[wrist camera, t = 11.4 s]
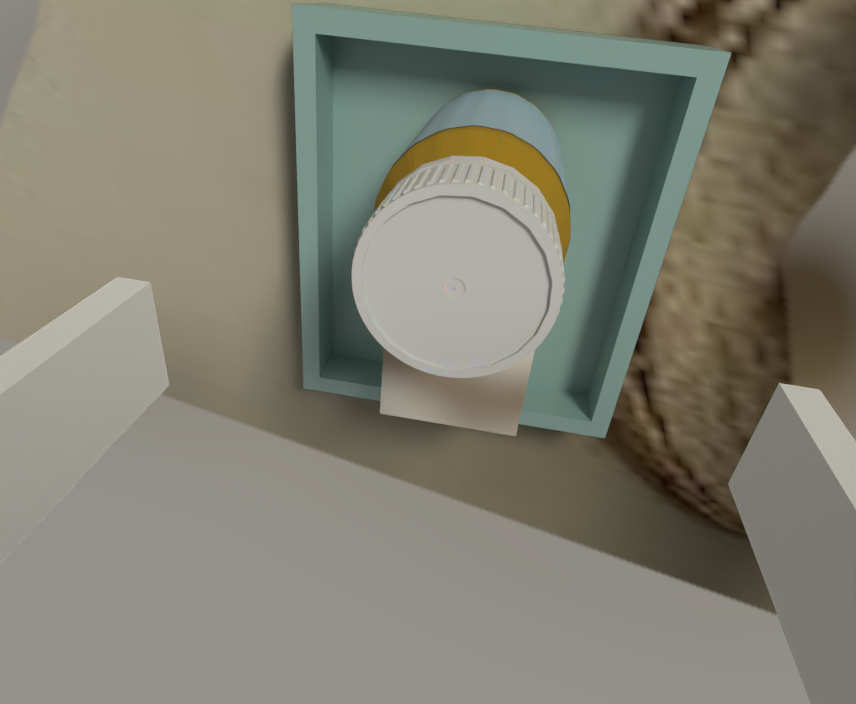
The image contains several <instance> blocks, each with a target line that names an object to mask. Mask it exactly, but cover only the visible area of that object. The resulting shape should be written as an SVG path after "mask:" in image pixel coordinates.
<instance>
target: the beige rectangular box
mask: <svg viewBox="0 0 856 704" xmlns="http://www.w3.org/2000/svg"><path fill="white" fill-rule="evenodd" d="M534 352H535V350H534V351H533V352H532V353H531V354H530V355H528V356H527V357H526V358H524V359H523V360H521V361H520V362H518V363H517V364H515V365H513V366H511V367H509V368H507V369H505V370H502V371H500V372H497V373H493V374H490V375H486V376H480V377H473V378H451V377H444V376H438V375H434V374H430V373H427V372H424V371H421V370H418V369H416V368H414V367H412V366H410V365H408V364H406V363H404V362H402V361H401V360H399V359H398V358H396V357H395V356H393V355H392V354H391V353H389V352H388V351H387V350H386V349H385V348H384V349H383V366H382V384H381V401H380V414H385V415H391V416H397V417H403V418H409V419H415V420H421V421H427V422H433V423H439V424H445V425H451V426H457V427H463V428H469V429H475V430H481V431H487V432H493V433H499V434H505V435H511V436H516V433H517V429H518V424H519V420H520V415H521V411H522V406H523V402H524V397H525V392H526V388H527V383H528V379H529V374H530V370H531V365H532V361H533V356H534Z"/></svg>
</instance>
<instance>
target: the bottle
mask: <svg viewBox="0 0 856 704" xmlns="http://www.w3.org/2000/svg"><path fill="white" fill-rule="evenodd" d="M570 237H571V223H570V204H569V198H568V192H567V186H566V180H565V175H564V169H563V163H562V157H561V151H560V146H559V142H558V140H557V137H556V135H555V132H554V129H553V127H552V125H551V123H550V122H549V120H548V119H547V117H546V116H545V115H544V114H543V113H542V112H541V110H540V109H539V108H538V107H537V106H536V105H535V104H534V103H532V102H531V101H529V100H527V99H526V98H524V97H522V96H521V95H519V94H517V93H514V92H511V91H506V90H501V89H496V88H486V89H480V90H473V91H469V92H466V93H464V94H462V95H460V96H458V97H456V98H454V99H452V100H450V101H449V102H448V103H446V104H445V105H444V106H443V107H442V108H441V109H440V110H439V111H438V112H437V113H436V114H435V115H434V116H433V117H432V118H431V119H430V120H429V122H428V123H427V124H426V125H425V127H424V128H423V129H422V130H421V131H420V133H419V134H418V135H417V136H416V138H415V139H414V140H413V141H412V142H411V144H410V145H409V146H408V147H407V149H406V150H405V151H404V152H403V154H402V155H401V156H400V157H399V158H398V160H397V161H396V162H395V163H394V165H393V166H392V168H391V169H390V171H389V173H388V174H387V176H386V178H385V180H384V182H383V184H382V186H381V188H380V191H379V193H378V195H377V198H376V202H375V209H374V214H373V215H372V216H371V218H370V219H369V220H368V223H367V224H366V225H365V227H364V228H363V230H362V234H361V235H360V237H359V238H358V241H357V243H358V245H357V246H356V248H355V250H354V258H353V260H352V289H353V295H354V299H355V303H356V306H357V309H358V311H359V314H360V316H361V318H362V320H363V322H364V324H365V325H366V327H367V328H368V330H369V331H370V333H371V334H372V335H373V337H374V338H375V339H376V340H377V341H378V342H379V343H380V344H381V345H382V346H383V347H384V348H385V349H386V350H387V351H388V352H389V353H391V354H392V355H393V356H395V357H396V358H398V359H399V360H401V361H402V362H404V363H406V364H408V365H410V366H412V367H414V368H416V369H418V370H421V371H424V372H427V373H430V374H434V375H438V376H444V377H451V378H473V377H480V376H486V375H490V374H493V373H497V372H500V371H502V370H505V369H507V368H509V367H511V366H513V365H515V364H517V363H518V362H520V361H521V360H523V359H524V358H526V357H527V356H528V355H530V354H531V353H532V352H533V351H534V350H535V349H536V348H537V347H538V346H539V345H540V344H541V343H542V342H543V340H544V339H545V338H546V336H547V335H548V333H549V332H550V330H551V328H552V326H553V325H554V324H555V322H556V318H557V315H558V314H559V312H560V305H561V304H562V302H563V297H562V294H563V293H564V282H565V276H564V265H563V263H564V260H565V257H566V253H567V250H568V247H569V244H570Z"/></svg>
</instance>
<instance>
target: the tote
mask: <svg viewBox="0 0 856 704" xmlns="http://www.w3.org/2000/svg"><path fill="white" fill-rule="evenodd" d="M292 28H293V61H294V93H295V126H296V159H297V192H298V224H299V257H300V290H301V322H302V355H303V388H304V389H310V390H316V391H322V392H328V393H334V394H340V395H346V396H352V397H358V398H364V399H370V400H376V401H381V384H382V366H383V349H384V347H383V346H382V345H381V344H380V343H379V342H378V341H377V340H376V339H375V338H374V337H373V335H372V334H371V333H370V331H369V330H368V328H367V327H366V325H365V324H364V322H363V320H362V318H361V316H360V314H359V311H358V309H357V306H356V303H355V299H354V295H353V289H352V260H353V258H354V250H355V248H356V246H357V245H358V243H357V241H358V238H359V237H360V235H361V234H362V230H363V228H364V227H365V225H366V224H367V223H368V220H369V219H370V218H371V216H372V215H373V214H374V209H375V202H376V198H377V195H378V193H379V191H380V188H381V186H382V184H383V182H384V180H385V178H386V176H387V174H388V173H389V171H390V169H391V168H392V166H393V165H394V163H395V162H396V161H397V160H398V158H399V157H400V156H401V155H402V154H403V152H404V151H405V150H406V149H407V147H408V146H409V145H410V144H411V142H412V141H413V140H414V139H415V138H416V136H417V135H418V134H419V133H420V131H421V130H422V129H423V128H424V127H425V125H426V124H427V123H428V122H429V120H430V119H431V118H432V117H433V116H434V115H435V114H436V113H437V112H438V111H439V110H440V109H441V108H442V107H443V106H444V105H445V104H446V103H448V102H449V101H450V100H452V99H454V98H456V97H458V96H460V95H462V94H464V93H466V92H469V91H473V90H480V89H486V88H496V89H501V90H506V91H511V92H514V93H517V94H519V95H521V96H522V97H524V98H526V99H527V100H529V101H531V102H532V103H534V104H535V105H536V106H537V107H538V108H539V109H540V110H541V112H542V113H543V114H544V115H545V116H546V117H547V119H548V120H549V122H550V123H551V125H552V127H553V129H554V132H555V135H556V137H557V140H558V142H559V146H560V151H561V157H562V163H563V169H564V175H565V180H566V186H567V192H568V198H569V204H570V223H571V237H570V244H569V247H568V250H567V253H566V257H565V260H564V263H563V265H564V276H565V282H564V293H563V294H562V297H563V302H562V304H561V305H560V312H559V314H558V315H557V318H556V322H555V324H554V325H553V326H552V328H551V330H550V332H549V333H548V335H547V336H546V338H545V339H544V340H543V342H542V343H541V344H540V345H539V346H538V347H537V348H536V349H535V352H534V356H533V361H532V365H531V370H530V374H529V379H528V383H527V388H526V392H525V397H524V402H523V406H522V411H521V415H520V420H519V424H521V425H527V426H534V427H540V428H546V429H552V430H558V431H564V432H570V433H576V434H582V435H588V436H594V437H600V438H605V436H606V433H607V430H608V427H609V424H610V421H611V418H612V415H613V412H614V409H615V406H616V403H617V400H618V397H619V393H620V390H621V387H622V384H623V381H624V378H625V375H626V372H627V369H628V366H629V363H630V360H631V357H632V354H633V351H634V348H635V345H636V342H637V339H638V336H639V333H640V329H641V326H642V323H643V320H644V317H645V314H646V311H647V308H648V305H649V302H650V299H651V296H652V293H653V290H654V287H655V284H656V281H657V278H658V275H659V272H660V269H661V266H662V262H663V259H664V256H665V253H666V250H667V247H668V244H669V241H670V238H671V235H672V232H673V229H674V226H675V223H676V220H677V217H678V214H679V211H680V208H681V205H682V202H683V198H684V195H685V192H686V189H687V186H688V183H689V180H690V177H691V174H692V171H693V168H694V165H695V162H696V159H697V156H698V153H699V150H700V147H701V144H702V141H703V138H704V135H705V131H706V128H707V125H708V122H709V119H710V116H711V113H712V110H713V107H714V104H715V101H716V98H717V95H718V92H719V89H720V86H721V83H722V80H723V77H724V74H725V71H726V67H727V64H728V61H729V58H730V55H731V53H730V52H727V51H724V50H720V49H717V48H714V47H710V46H704V45H695V44H686V43H677V42H668V41H659V40H650V39H641V38H632V37H623V36H614V35H605V34H596V33H587V32H578V31H569V30H559V29H550V28H541V27H532V26H523V25H514V24H505V23H496V22H487V21H478V20H469V19H460V18H451V17H442V16H433V15H424V14H415V13H406V12H396V11H387V10H378V9H369V8H360V7H351V6H342V5H333V4H324V3H303V4H292Z"/></svg>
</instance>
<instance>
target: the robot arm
mask: <svg viewBox="0 0 856 704" xmlns="http://www.w3.org/2000/svg"><path fill="white" fill-rule="evenodd" d="M168 386H169V380H168V375H167V369H166V364H165V358H164V353H163V348H162V342H161V337H160V331H159V326H158V320H157V315H156V310H155V304H154V299H153V293H152V288H151V282H146V281H139V280H133V279H127V278H121V277H117V278H115V279H114V280H112V281H111V282H109V283H108V284H106V285H105V286H103V287H102V288H100V289H99V290H97V291H96V292H94V293H93V294H92V295H90V296H89V297H87V298H86V299H84V300H83V301H81V302H80V303H78V304H77V305H75V306H74V307H72V308H71V309H69V310H68V311H66V312H65V313H63V314H62V315H60V316H59V317H58V318H56V319H55V320H53V321H52V322H50V323H49V324H47V325H46V326H44V327H43V328H41V329H40V330H38V331H37V332H35V333H34V334H32V335H31V336H29V337H28V338H26V339H25V340H24V341H22V342H21V343H19V344H18V345H16V346H15V347H13V348H12V349H10V350H9V351H8V352H6V353H4V354H3V355H2V356H0V565H1V564H2V563H3V561H4V560H5V559H6V558H7V557H8V556H9V555H10V554H11V553H12V552H13V551H14V550H15V549H16V548H17V547H18V545H19V544H20V543H21V542H22V541H23V540H24V539H25V538H26V537H27V536H28V535H29V534H30V533H31V532H32V531H33V530H34V529H35V527H36V526H37V525H38V524H39V523H40V522H41V521H42V520H43V519H44V518H45V517H46V516H47V515H48V514H49V513H50V511H51V510H52V509H53V508H54V507H55V506H56V505H57V504H58V503H59V502H60V501H61V500H62V499H63V498H64V497H65V496H66V495H67V493H68V492H69V491H70V490H71V489H72V488H73V487H74V486H75V485H76V484H77V483H78V482H79V481H80V480H81V479H82V478H83V476H84V475H85V474H86V473H87V472H88V471H89V470H90V469H91V468H92V467H93V466H94V465H95V464H96V463H97V462H98V460H100V458H101V457H102V456H103V455H104V454H105V453H106V452H107V451H108V450H109V449H110V448H111V447H112V446H113V445H114V444H115V443H116V441H117V440H118V439H119V438H120V437H121V436H122V435H123V434H124V433H125V432H126V431H127V430H128V429H129V428H130V427H131V425H132V424H133V423H134V422H135V421H136V420H137V419H138V418H139V417H140V416H141V415H142V414H143V413H144V412H145V411H146V410H147V408H148V407H149V406H150V405H151V404H152V403H153V402H154V401H155V400H156V399H157V398H158V397H159V396H160V395H161V394H162V393H163V392H164V390H165V389H166V388H167V387H168ZM728 485H729V488H730V491H731V493H732V496H733V499H734V501H735V504H736V507H737V509H738V512H739V515H740V517H741V520H742V522H743V525H744V528H745V530H746V533H747V536H748V538H749V541H750V544H751V546H752V549H753V552H754V554H755V557H756V559H757V562H758V565H759V567H760V570H761V573H762V575H763V578H764V581H765V583H766V586H767V589H768V591H769V594H770V596H771V599H772V602H773V604H774V607H775V610H776V612H777V615H778V618H779V620H780V623H781V626H782V628H783V631H784V634H785V636H786V639H787V641H788V644H789V647H790V649H791V652H792V655H793V657H794V660H795V663H796V665H797V668H798V671H799V673H800V676H801V678H802V681H803V683H804V686H805V689H806V692H807V694H808V697H809V700H810V702H811V704H856V441H855V439H854V438H853V437H852V435H851V434H850V432H849V431H848V429H847V428H846V427H845V425H844V424H843V422H842V421H841V420H840V418H839V417H838V415H837V414H836V412H835V411H834V410H833V408H832V406H831V405H830V404H829V402H828V401H827V399H826V398H825V397H824V395H823V394H822V392H821V391H820V390H819V389H813V388H807V387H801V386H795V385H788V384H782V383H779V384H778V386H777V388H776V390H775V392H774V394H773V396H772V398H771V400H770V402H769V404H768V406H767V408H766V410H765V412H764V414H763V416H762V418H761V420H760V422H759V424H758V425H757V427H756V429H755V431H754V433H753V435H752V437H751V439H750V441H749V443H748V445H747V447H746V449H745V451H744V453H743V455H742V457H741V459H740V461H739V463H738V465H737V467H736V469H735V471H734V473H733V475H732V477H731V479H730V481H729V483H728Z"/></svg>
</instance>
